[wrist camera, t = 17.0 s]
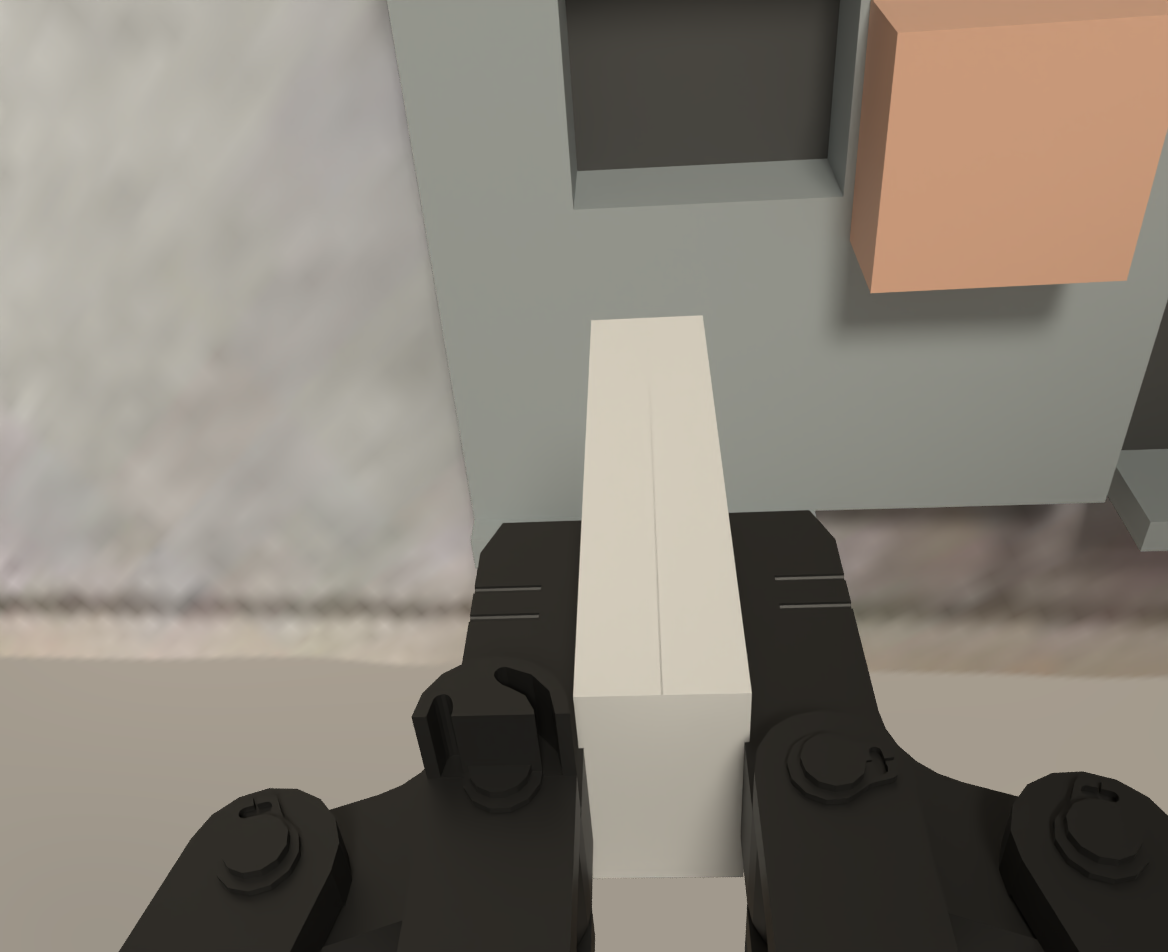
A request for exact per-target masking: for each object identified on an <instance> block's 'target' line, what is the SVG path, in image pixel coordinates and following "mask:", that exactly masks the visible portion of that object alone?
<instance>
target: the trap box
mask: <svg viewBox="0 0 1168 952" xmlns="http://www.w3.org/2000/svg"><path fill="white" fill-rule="evenodd" d="M870 3H871V0H387V5H388V11H389V17H390V23H391V29H392V35H393V41H394V47H395V53H396V59H397V65H398V71H399V77H400V83H401V88H402V94H403V100H404V106H405V112H406V118H407V124H408V130H409V136H410V142H411V148H412V154H413V160H414V165H415V171H416V177H417V183H418V189H419V195H420V201H421V207H422V213H423V219H424V225H425V231H426V237H427V243H428V248H429V254H430V260H431V266H432V272H433V278H434V284H435V290H436V296H437V302H438V308H439V314H440V320H441V326H442V331H443V337H444V343H445V349H446V355H447V361H448V367H449V373H450V379H451V385H452V391H453V397H454V403H455V409H456V414H457V420H458V426H459V432H460V438H461V444H462V450H463V456H464V462H465V468H466V474H467V480H468V486H469V492H470V497H471V503H472V509H473V515H474V525H473V530H472V536H471V545H472V551H473V557H474V563H475V568H478V564H479V558H480V553H481V551H482V550H483V549H484V547H485V546H486V545H487V543H488V542H489V541H490V539H491V538H492V537H493V535H494V534H495V533H496V531H497V530H498V529H499V527H500V526H501V525H502V523H515V522H546V521H577V520H582V502H583V481H584V460H585V440H586V419H587V398H588V377H589V356H590V336H591V320H609V319H632V318H654V317H676V316H698V315H703V322H704V329H705V337H706V345H707V352H708V360H709V368H710V375H711V383H712V391H713V398H714V406H715V414H716V422H717V429H718V437H719V445H720V452H721V460H722V468H723V475H724V483H725V491H726V498H727V506H728V513H735V512H765V511H796V510H810V511H811V513H812V514H813V515H814V516H815V517H816V513H815V511H823V510H858V509H894V508H929V507H965V506H1000V505H1036V504H1071V503H1105V501H1106V498H1107V496H1108V497H1109V499H1110V501H1111V502H1112V504H1113V506H1114V507H1115V509H1116V511H1117V513H1118V514H1119V516H1120V518H1121V519H1122V521H1123V523H1124V524H1125V526H1126V528H1127V530H1128V531H1129V533H1130V535H1131V536H1132V538H1133V540H1134V541H1135V543H1136V545H1137V547H1138V548H1139V550H1140V552H1143V551H1168V129H1167V133H1166V136H1165V140H1164V144H1163V148H1162V151H1161V155H1160V159H1159V162H1158V166H1157V170H1156V174H1155V177H1154V181H1153V185H1152V188H1151V192H1150V196H1149V200H1148V203H1147V207H1146V211H1145V214H1144V218H1143V222H1142V226H1141V229H1140V233H1139V237H1138V240H1137V244H1136V248H1135V252H1134V255H1133V259H1132V263H1131V267H1130V270H1129V274H1128V278H1127V281H1109V282H1089V283H1069V284H1048V285H1028V286H1008V287H988V288H967V289H947V290H927V291H907V292H886V293H870V291H869V288H868V285H867V283H866V280H865V278H864V275H863V273H862V270H861V268H860V265H859V263H858V260H857V258H856V255H855V253H854V250H853V248H852V245H851V242H850V230H851V219H852V208H853V196H854V185H855V174H856V162H857V151H858V140H859V128H860V117H861V106H862V94H863V83H864V72H865V60H866V49H867V37H868V26H869V15H870Z"/></svg>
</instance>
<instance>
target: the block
mask: <svg viewBox="0 0 1168 952" xmlns="http://www.w3.org/2000/svg"><path fill="white" fill-rule="evenodd" d="M1167 129H1168V0H871V3H870V15H869V26H868V37H867V49H866V60H865V72H864V83H863V94H862V106H861V117H860V128H859V140H858V151H857V162H856V174H855V185H854V196H853V208H852V219H851V230H850V242H851V245H852V248H853V250H854V253H855V255H856V258H857V260H858V263H859V265H860V268H861V270H862V273H863V275H864V278H865V280H866V283H867V285H868V288H869V291H870V293H886V292H907V291H927V290H947V289H967V288H988V287H1008V286H1028V285H1048V284H1069V283H1089V282H1109V281H1127V278H1128V274H1129V270H1130V267H1131V263H1132V259H1133V255H1134V252H1135V248H1136V244H1137V240H1138V237H1139V233H1140V229H1141V226H1142V222H1143V218H1144V214H1145V211H1146V207H1147V203H1148V200H1149V196H1150V192H1151V188H1152V185H1153V181H1154V177H1155V174H1156V170H1157V166H1158V162H1159V159H1160V155H1161V151H1162V148H1163V144H1164V140H1165V136H1166V133H1167Z"/></svg>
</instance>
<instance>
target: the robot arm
mask: <svg viewBox="0 0 1168 952" xmlns="http://www.w3.org/2000/svg"><path fill="white" fill-rule="evenodd" d="M412 720H413V724H414V728H415V732H416V736H417V740H418V744H419V748H420V752H421V756H422V760H423V764H424V768H425V769H424V770H423V771H422V772H421V773H420V774H418V775H417V776H415V777H414V778H412V779H411V780H409V781H408V782H406V783H405V784H403V785H401V786H399V787H397V788H395V789H392V790H389V791H387V792H385V793H382V794H380V795H377V796H374V797H370V798H367V799H364V800H360V801H357V802H354V803H351V804H347V805H344V806H341V807H338V808H335V809H331V810H329V809H328V808H327V807H326V806H325V804H324V803H323V802H322V801H321V799H319V798H317V797H315V796H312V795H310V794H308V793H305V792H303V791H301V790H298V789H273V788H271V789H270V788H269V789H265V790H262V791H259V792H255V793H252V794H249V795H246V796H242V797H239V798H238V799H236V800H234V801H233V802H231V803H230V804H228V805H227V806H225V807H224V808H222V809H221V810H219V811H217V812H216V813H214V814H213V815H211V817H210V818H209V819H208V820H207V821H206V822H205V823H204V825H203V826H202V827H201V828H200V829H199V830H198V831H197V833H196V834H195V835H194V836H193V837H192V838H191V840H190V841H189V843H188V844H187V846H186V848H185V849H184V851H183V852H182V854H181V856H180V857H179V858H178V860H177V862H176V863H175V865H174V866H173V868H172V869H171V871H170V872H169V874H168V876H167V877H166V879H165V880H164V882H163V884H162V885H161V887H160V888H159V890H158V891H157V893H156V894H155V896H154V898H153V899H152V901H151V902H150V904H149V905H148V907H147V909H146V910H145V912H144V913H143V915H142V916H141V918H140V919H139V921H138V923H137V924H136V926H135V928H134V929H133V930H132V932H131V934H130V935H129V937H128V938H127V940H126V941H125V943H124V945H123V946H122V948H121V949H120V951H119V952H595V932H594V923H593V914H592V875H593V879H594V878H681V877H682V878H683V877H684V878H685V877H743V871H744V876H745V885H746V894H747V921H746V940H745V952H1168V815H1167V814H1165V813H1164V812H1163V811H1162V810H1161V809H1160V808H1159V807H1158V806H1157V805H1156V804H1155V803H1154V802H1153V801H1152V800H1151V799H1150V798H1148V797H1147V796H1145V795H1143V794H1141V793H1140V792H1138V791H1136V790H1134V789H1132V788H1131V787H1129V786H1127V785H1125V784H1123V783H1121V782H1119V781H1117V780H1115V779H1111V778H1107V777H1102V776H1099V775H1095V774H1091V773H1086V772H1066V773H1051V774H1049V775H1047V776H1045V777H1043V778H1040V779H1038V780H1036V781H1034V782H1032V783H1030V784H1027V786H1026V787H1025V789H1024V790H1023V791H1022V793H1021V794H1020V795H1019V797H1018V796H1013V795H1010V794H1006V793H1002V792H998V791H994V790H990V789H987V788H982V787H979V786H975V785H971V784H967V783H964V782H960V781H958V780H955V779H952V778H949V777H946V776H943V775H940V774H938V773H936V772H934V771H932V770H931V769H929V768H927V767H925V766H924V765H922V764H920V763H918V762H917V761H915V760H914V759H913V758H912V757H911V756H910V755H909V754H907V753H906V752H905V751H904V750H903V749H902V748H900V747H899V746H898V745H897V743H896V742H895V741H894V739H893V738H892V737H891V735H890V734H889V733H888V731H887V730H886V729H885V726H884V723H883V721H882V719H881V716H880V714H879V711H878V707H877V703H876V699H875V696H874V691H873V687H872V684H871V680H870V676H869V672H868V668H867V664H866V660H865V656H864V652H863V648H862V644H861V640H860V636H859V632H858V628H857V624H856V620H855V616H854V612H853V609H851V600H850V596H849V592H848V588H847V584H846V580H844V572H843V568H842V564H841V560H840V556H839V552H838V548H837V544H836V540H835V538H834V537H833V536H832V535H831V534H830V533H829V532H828V531H827V529H826V528H825V527H824V526H823V525H822V524H821V523H820V522H819V520H818V519H817V518H816V517H815V516H814V515H813V514H812V513H811V511H810V510H796V511H765V512H735V513H728V506H727V498H726V491H725V483H724V475H723V468H722V460H721V452H720V445H719V437H718V429H717V422H716V414H715V406H714V398H713V391H712V383H711V375H710V368H709V360H708V352H707V345H706V337H705V329H704V322H703V315H698V316H676V317H654V318H632V319H609V320H591V336H590V356H589V377H588V398H587V419H586V440H585V460H584V481H583V502H582V520H577V521H546V522H515V523H502V525H501V526H500V527H499V529H498V530H497V531H496V533H495V534H494V535H493V537H492V538H491V539H490V541H489V542H488V543H487V545H486V546H485V547H484V549H483V550H482V551H481V553H480V558H479V564H478V570H477V576H476V582H475V594H473V600H472V607H471V613H470V622H469V625H468V631H467V637H466V643H465V649H464V655H463V662H462V665H460V666H458V667H456V668H454V669H452V670H450V671H448V672H445V673H444V674H442V675H441V676H440V677H439V678H438V679H437V680H436V681H435V682H434V683H433V684H432V685H430V686H429V687H428V688H427V689H426V690H425V691H424V692H423V693H422V695H421V697H420V700H419V702H418V704H417V706H416V709H415V711H414V713H413V715H412Z"/></svg>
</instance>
